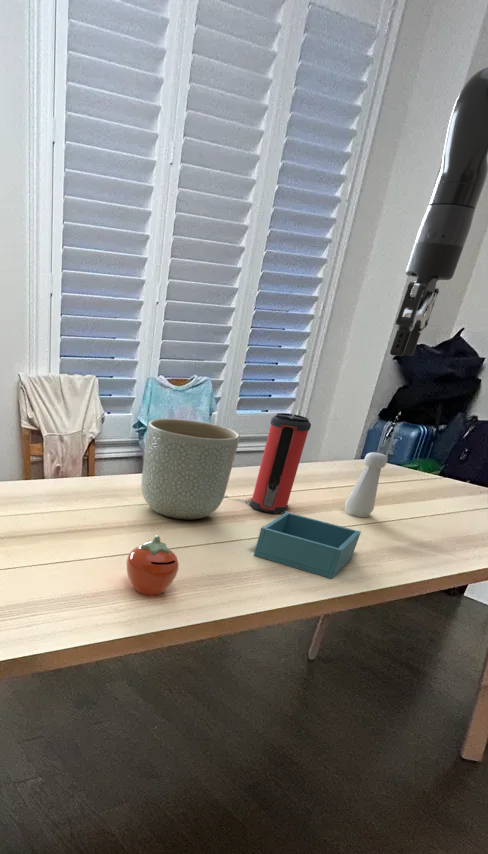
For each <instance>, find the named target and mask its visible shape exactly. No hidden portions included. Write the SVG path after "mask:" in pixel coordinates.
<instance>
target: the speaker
mask: <svg viewBox="0 0 488 854" xmlns="http://www.w3.org/2000/svg"><path fill="white" fill-rule="evenodd" d="M269 422H270V426H269V431H268V434H267V439H266V443H265V445H264V450H263V454H262V458H261V463H260V466H259V471H258V473H257V478H256V481H255V486H254V490H253V494H252V497H251V499H250V501H249V505H250V506H251V507H252V508H253V509H254V510H256V511H259V512H263V513H266V514H272V515H273V514H281V515H282V514H284V513H286V511H287V510H288V506H289V505H288V503H289V500H290V497H291V493H292V489H293V487H294V482H295V479H296V476H297V472H298V468H299V465H300V462H301V458H302V454H303V450H304V447H305V443H306V442H307V441H306V440H307V437H308V434H309V431H310V430H311V426H312V424H311V422H310V421H309V418H308V417H306V416H303V415H299V414H293V413H286V412H285V413H284V412H280V413H279V412H278V413H276V415H274V416H272V417H271V419H270V421H269Z"/></svg>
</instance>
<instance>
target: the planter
mask: <svg viewBox="0 0 488 854" xmlns="http://www.w3.org/2000/svg"><path fill="white" fill-rule="evenodd" d="M145 437H146V438H145V446H144V455H143V463H142V471H141V472H142V473H141V486H140V487H141V494H142V497H143V500H144V501H145V503H146V504H147V505H148V506H149V508H151V510H153V511H154V512H156V513H157V514H159V515H161V516H163V517H164V516H165V517H168V518H172V519H178V520H188V521H189V520H192V521H193V520H200V519H203V518H206V517H207V516H210V515H211V514H213V513H214V512H215V511H216V510H217V509H218V508H219V507H220V506H221V504H222V502H223V500H224V498H225V495H226V492H227V488H228V486H229V485H228V484H229V481H230V476H231V473H232V469H233V466H234V461H235V457H236V455H237V451H238V446H239V442H240V438H241V436H240V434H239V433H238V432H237V431H235V430H233V429H230V428H228V427H225V426H221V425H219V424H218V425H217V424H213V423H209V422H203V421H197V420H189V419H181V418H180V419H178V418H157V419H152V420H150V421H149V422H148V424H147V429H146V436H145Z"/></svg>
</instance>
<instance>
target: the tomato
mask: <svg viewBox="0 0 488 854" xmlns="http://www.w3.org/2000/svg"><path fill="white" fill-rule="evenodd" d="M179 566H180V564H179V560H178V556H177V555H176V554H175V552H173V550H171V549H170V548H169V547H168V546H167V544H166V543H164V542H162V541H161V537H160V536H159V535H155V536H154V537H153V539H152V540H148V541H146V542H144V543H143V544H141V545H138V546H136V547H134V548H133V549H131V551H130V552H129V554H128V555H127V557H126V574H127V577H128V580H129V583H130V585H131V586H132V587H133V588H134V590H135V591H136V592H138V593H139V594H141V595H144V596H149V597H151V596H152V597H155V596H159V595H160V594H161V593H163V592H165V591H166V590H167V589H168V588H169V587H170V586H171V585H172V584H173V582H174V581H175V579H176V577H177V575H178V571H179V569H180V567H179Z"/></svg>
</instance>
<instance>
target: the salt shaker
mask: <svg viewBox="0 0 488 854" xmlns="http://www.w3.org/2000/svg"><path fill="white" fill-rule="evenodd" d="M388 459H389V458H388V456H387V455H386V454H384V453H381V452H377V451H376V452H374V451H373V452H372V451H371V452H368V453H367V454H366V455H365V457H364V460H363V464H364V465H365V466H364V468H363V470H362V472H361V473H360V474H359V477H358V478H357V481H356V482H355V484H354V486H353V488H352V490H351V492H350V494H349V496H348V497H347V499H346V501H345V504H344V511H345V513H346V514H348V515H350V516H353V517H357V518H368V517H369V516H370V515H371V514H372V513H373V511H374V509H375V504H376V499H377V492H378V486H379V480H380V475H381V470H382V468H385V467H386V465H387V463H388Z"/></svg>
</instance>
